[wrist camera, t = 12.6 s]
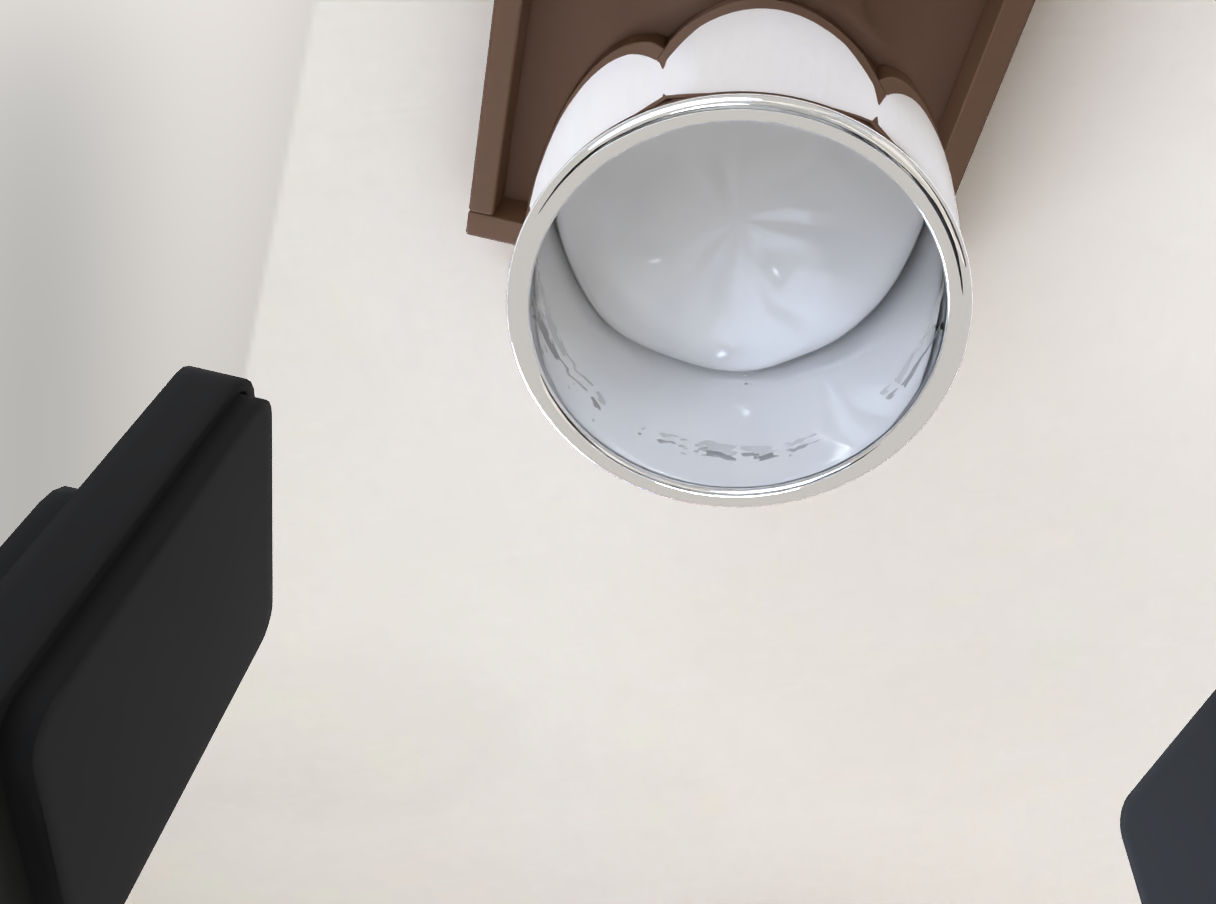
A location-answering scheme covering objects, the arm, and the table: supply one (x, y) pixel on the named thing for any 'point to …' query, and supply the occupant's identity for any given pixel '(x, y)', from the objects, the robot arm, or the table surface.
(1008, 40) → the tray
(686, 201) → the beer glass
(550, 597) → the table surface
